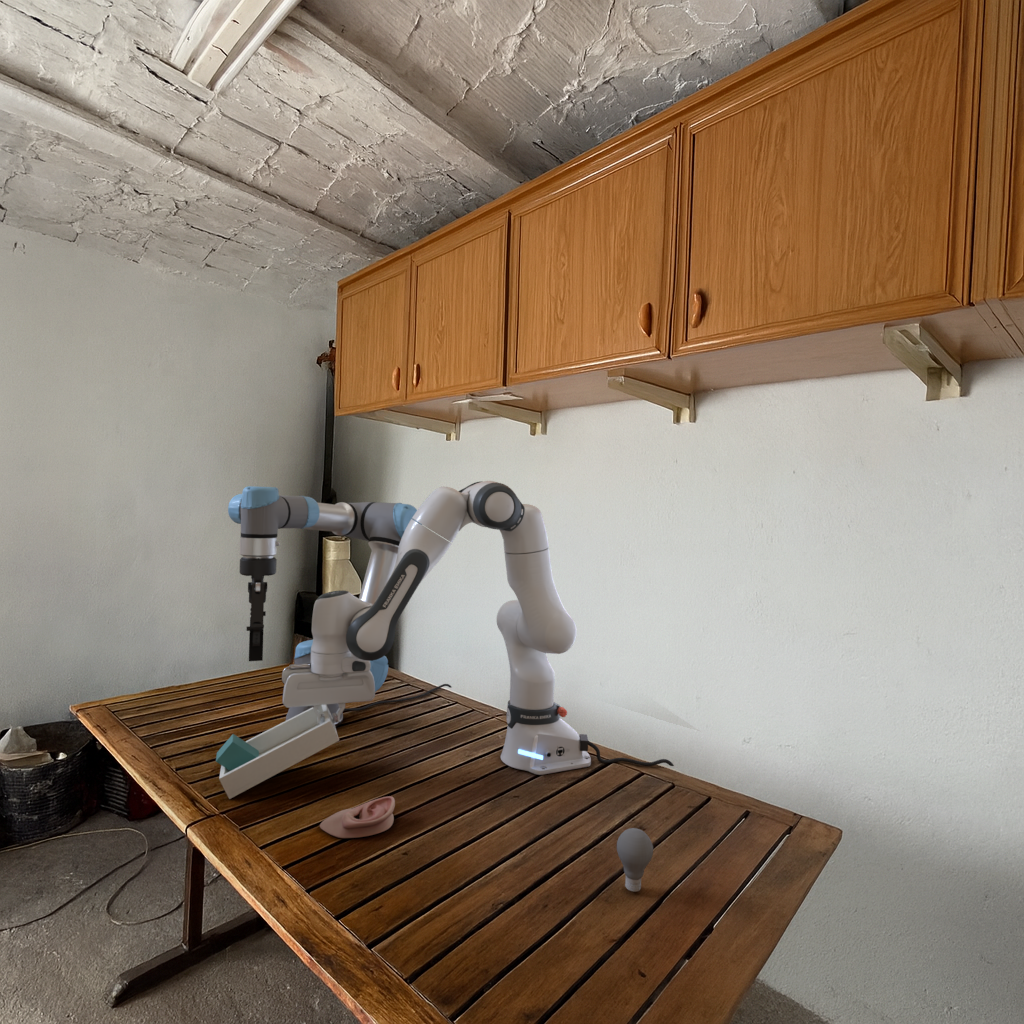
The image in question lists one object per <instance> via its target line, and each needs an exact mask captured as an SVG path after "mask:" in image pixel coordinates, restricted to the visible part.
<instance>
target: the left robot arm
mask: <svg viewBox="0 0 1024 1024" xmlns="http://www.w3.org/2000/svg"><path fill="white" fill-rule="evenodd" d="M417 510H418V509H417V508H416V507H415V506H414V505H411V504H408V503H402V502H380V501H361V502H345V501H344V502H343V501H341V502H337V503H335V504H332V503H325V502H317V501H316V499H314V498H313V497H311V496H305V495H280V493H279V488H278V487H275V486H256V485H255V486H253V485H248V486H245V487H244V488H243V489H242V493H239V494H236V495H234V496H233V497H232V498H231V499H230V500H229V502H228V507H227V514H228V517H229V518H230V520H231V521H233V522H234V523H235V524H239V525H240V538H239V555H240V556H242V557H240V559H239V574H240V575H241V576H245V577H250V579H251V581H248V582H247V592H248V603H249V604H250V608H249V609H250V613H249V616H250V617H249V625H248V626H246V632H249V635H248V636H249V639H248V640H249V641H248V645H249V646H248V662H262V661H263V660H264V659H263V658H264V657H263V656H264V628H265V625H264V617H266V613H267V612H266V611H265V610H264V609H265V608H264V605H265V603H266V602H267V592H268V581H264V580H265V576H267V577H268V576H269V577H270V576H275V574H277V562H278V561H277V560H278V559H277V557H275V556H276V555H277V553H278V551H277V549H278V547H279V546H281V543H280V541H278V533H279V532H278V531H279V530H280V529H297V530H310V531H322V532H332V534H334V535H336V536H342V537H349V538H354V539H357V540H361V541H366V542H367V545H368V547H369V548H370V550H371V552H370V555H369V560H368V563H367V567H366V570H365V574H364V578H363V581H362V585H361V590H360V593H359V597H358V599H360V600H362V601H365V602H367V603H371V604H374V603H375V601H376V599H377V598H378V596H379V594H380V593H381V591H382V590H383V588H384V586H385V585H386V583H387V581H388V580H389V578H390V576H391V574H392V572H393V570H394V567H395V564H396V560H397V554H398V547H399V544H400V541H401V538H402V536H403V533H404V531H405V529H406V527H407V525H408V524H409V522H410V520H411V519H413V518H412V517H413V516H414V514H415V513H416V511H417ZM413 520H414V519H413ZM414 521H416V520H414ZM416 522H417V521H416ZM418 523H419V522H418ZM419 524H421V523H419ZM421 525H422V524H421ZM312 644H313V639H308V640H304V641H302V642H299V643H298V644H297V645H296V647H295V652H294V653H295V654H294V657H293V659H294V660H293V662H294V663H293V664H296V665H297V664H307V663H311V647H312ZM370 663H371V668H370V671H371V673H372V675H373V677H374V683H375V693H377V691H379V690H380V689H381V687H382V686H383V685H384V683H385V681H386V679H387V677H388V673H389V664H388V663H389V660H388V658H387V656H386V655H385V656H383V657H382V658H379V659H377V660H372V661H370ZM444 687H448V688H452V685H451V684H448V683H443V684H441V685H438V686H436V687H434V688H431V689H430V690H428V691H426V692H423V693H421V694H418V695H414V696H410V697H405V698H398V699H389V700H380V701H376V702H375V701H374V702H372V703H369V704H368V705H365V706H362V707H356V708H355V707H353V708H352V707H345V709H344V710H343V712H358V711H363V710H366V709H369V708H371V707H374V706H377V705H382V704H390V703H391V704H392V703H400V702H405V701H411V700H415V699H419V698H422V697H425V696H427V695H428V694H430V693H432V692H434V691H437V690H439V689H441V688H444ZM326 705H327V707H328V709H329V711H330V713H331V715H332V717H333V713H336V712H337V711H338V709H339V706H338V704H326ZM312 707H313V706H301V707H288V711H287V713H286V715H285V721H287V720H289V719H290V718H292V717H294V716H296V715H298V714H300V713H302V712H304V711H306V710H308V709H310V708H312ZM343 712H342V714H341V715H340V722H338V723H335V727H336V728H337V727H339V726H340V725H342V723H343V722H344V714H343Z"/></svg>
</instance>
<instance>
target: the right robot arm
mask: <svg viewBox="0 0 1024 1024" xmlns="http://www.w3.org/2000/svg"><path fill="white" fill-rule="evenodd" d="M542 513H543V512H541V510H540V509H539V508H538V507H537V506H535V505H533V504H530V503H522V501H521V500H520V498H519V497H518V496H517V494H516V493H515V491H514V490H513V489H512V488H511V487H509V486H508V485H506V484H505V483H501V482H498V481H494V480H484V481H483V480H482V481H475V482H472V483H470V484H469V485H467V486H465V487H464V488H462V489H460V490H457V489H456V488H454V487H449V486H438V487H437V488H435V489H434V490H433V491H432V492H431V493H430V494H429V495H428V497H426V499H425V500H424V501H423V502H422V503H421V504H420V506H419V507H418V509H417V511H416V513H415V514H414V516H413V517H412V518H413V519H414V520H416V521H417V522H416V521H414V520H413V519H411V520H410V522H409V524H408V525H407V527H406V529H405V531H404V533H403V536H402V538H401V541H400V544H399V547H398V554H397V560H396V564H395V567H394V570H393V572H392V574H391V576H390V578H389V580H388V581H387V583H386V585H385V586H384V588H383V590H382V591H381V593H380V594H379V596H378V598H377V599H376V601H375V603H374V604H371V603H367V602H365V601H362V600H360V599H359V597H357V596H355V595H353V594H352V593H351V592H350V591H349V590H333V591H329V592H325V593H323V594H321V595H319V596H318V597H317V598H316V600H315V601H314V604H313V610H312V617H311V635H312V640H313V644H312V647H311V663H307V664H297V665H296V664H294V663H293V664H292V663H291V664H289V666H286V667H284V668H283V670H282V672H281V683H282V684H283V691H282V704H283V706H284V707H285V708H289V707H301V706H313V710H314V712H315V713H316V715H317V717H318V719H317V721H318V724H322V723H324V722H325V717H324V714H320V712H319V709H320V705H326V704H338V706H339V709H338V711H337V712H336V713H333V723H338V722H340V715H341V714H342V712H344V711H343V710H344V709H345V708H346V704H352V703H363V702H365V703H366V702H371V701H373V700H374V698H376V692H375V683H374V677H373V675H372V673H371V671H370V668H371V663H370V661H372V660H377V659H379V658H382V657H383V656H386V655H387V654H388V653H390V651H391V649H392V647H393V646H394V642H395V637H396V629H397V624H398V621H399V619H400V618H401V617H402V614H403V613H404V610H405V609H406V607H407V606H408V605H409V602H410V600H411V599H412V598H413V595H414V594H415V592H416V590H417V589H418V587H419V586H420V584H421V583H422V581H423V580H424V579H425V578H426V577H427V576H428V574H430V572H431V571H432V570H433V569H434V568H435V566H437V564H438V563H439V562H440V561H441V560H442V558H443V557H444V555H445V554H446V553H447V551H448V550H449V549H450V547H451V545H452V544H453V542H454V540H455V539H456V538H457V535H458V534H459V532H460V531H462V529H463V528H464V527H466V526H467V525H468V524H471V523H473V524H475V525H476V526H479V527H481V528H487V529H490V530H491V529H492V530H498V531H499V532H500V534H501V537H502V540H503V551H504V553H503V554H504V562H505V569H506V578H507V583H508V585H509V587H510V589H511V590H512V591H513V592H514V595H515V596H516V599H512V600H507V601H506V602H505V603H503V604H502V605H501V606H500V608H499V609H498V611H497V614H496V626H497V628H498V630H499V632H500V634H501V635H502V638H503V641H504V645H505V649H506V654H507V659H508V664H509V679H510V680H509V700H508V701H507V708H506V724H507V728H506V733H505V739H504V744H503V747H502V751H501V753H500V761H501V762H502V763H503V764H505V765H506V766H508V767H511V768H514V769H517V770H520V771H526V772H529V773H531V774H534V775H538V776H543V775H547V774H548V775H549V774H554V773H559V772H565V771H572V770H577V769H582V768H587V767H590V766H591V765H592V758H591V755H590V754H589V753H588V752H589V747H590V748H592V749H593V750H594V751H595V754H596V759H597V761H598V762H600V763H601V764H612V763H619V762H622V763H624V762H625V763H629V764H633V765H637V766H642V767H654V766H658V765H661V764H667V766H670V767H675V765H674V764H673V762H672V761H670V760H669V759H666V758H660V759H657V760H654V761H650V762H649V761H641V760H637V759H632V758H627V757H614V758H611V759H605V758H604V759H603V758H602V757H601V751H600V749H599V747H598V746H597V745H596V744H594V743H593V742H591V740H590V741H589V738H588V734H585V733H583V734H582V733H579V732H577V730H576V729H574V727H573V726H571V725H570V724H569V723H568V722H567V721H565V720H564V719H562V718H565V717H566V716H567V715H568V711H567V708H564V706H561V705H560V704H558V703H556V702H555V685H556V673H555V670H554V668H553V665H551V662H550V661H549V659H548V655H547V654H551V655H552V654H553V655H560V654H565V653H566V652H568V651H569V650H570V649H571V648H572V647H573V645H574V644H575V642H576V638H577V634H578V630H577V625H576V621H575V620H574V618H572V616H571V615H570V614H569V613H568V610H567V609H566V608H565V606H564V604H563V602H562V600H561V597H560V595H559V592H558V589H557V586H556V583H555V580H554V574H553V571H552V569H553V568H552V561H551V552H550V545H549V538H548V532H547V528H546V527H547V526H546V523H545V519H544V516H543V514H542ZM418 522H419V523H421V524H422V525H421V524H419V523H418Z"/></svg>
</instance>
